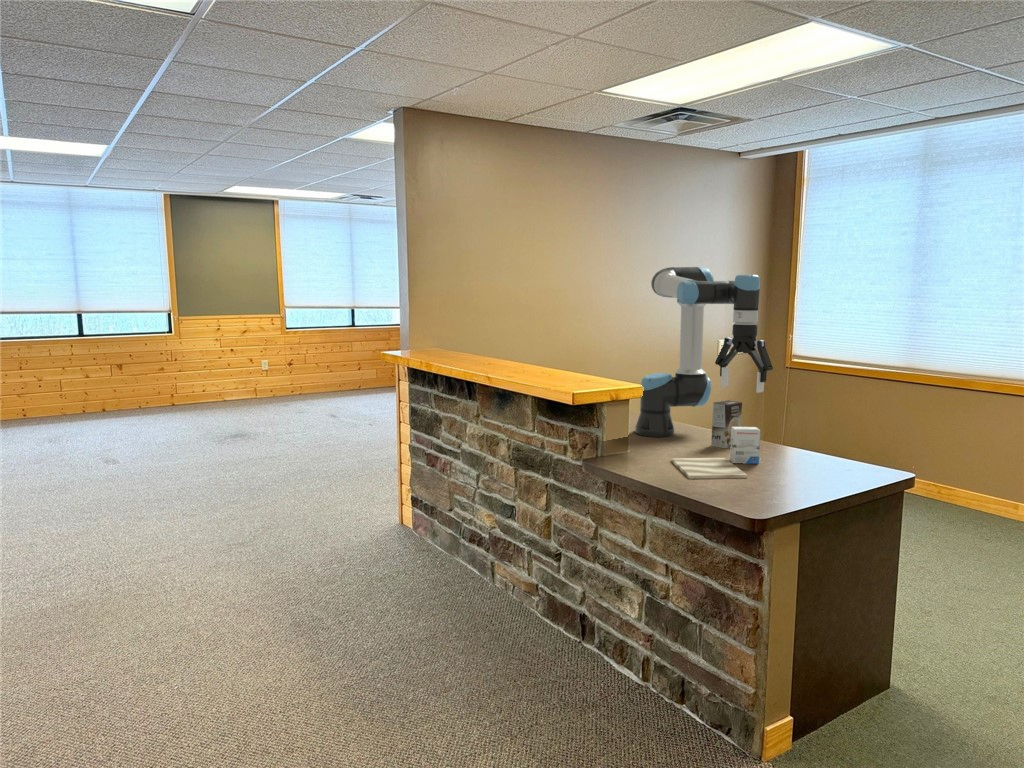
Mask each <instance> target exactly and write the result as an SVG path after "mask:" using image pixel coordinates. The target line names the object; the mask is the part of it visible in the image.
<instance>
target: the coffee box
mask: <svg viewBox="0 0 1024 768" xmlns="http://www.w3.org/2000/svg"><path fill="white" fill-rule="evenodd" d="M742 410H743V402H741V401H735V400H728V399H727V400H721V401H714V402H713V406H712V421H711V422H712V425H711V443H710V444H711V446H712V447H717V448H722V449H728V448H730V443H731V427H742V413H743V411H742Z"/></svg>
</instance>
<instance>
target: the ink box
mask: <svg viewBox="0 0 1024 768" xmlns="http://www.w3.org/2000/svg"><path fill="white" fill-rule="evenodd" d="M729 448H730V451H729V462H731V463H732V464H733V463H743V464H742V465H747V464H749V465H759V464H760V449H761V429H759V428H758V427H757V426H741V427H731V443H730V447H729Z"/></svg>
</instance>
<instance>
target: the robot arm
mask: <svg viewBox="0 0 1024 768" xmlns="http://www.w3.org/2000/svg"><path fill="white" fill-rule="evenodd" d="M760 279H761V278H760V276H759V275H758V274H738V275H736V276H735V278H734V280H714V276H713V273H712V272H711V270H710V269H708V268H707V267H699V266H685V267H684V266H680V267H679V266H677V267H676V266H675V267H674V266H672V267H671V266H670V267H665V268H662V269H660V270H658V271H657V272H656V273H654V275H653V276H652V279H651V289H652V291H653V292H654V294H656V295H657V296H659V297H662V298H674V299H677V300H676V303H677V304H678V305H679V306H680V333H679V337H680V338H679V341H680V342H679V346H680V347H679V368H678V369H677V370H676V371H675V372H674V374H675V376H673V375H672V374H671V373H668V372H658V373H651V374H648V375H645V376H643V377H642V379H641V381H640V382H641V383H640V386H641V385H642V386H643V387H644V391H643V396H642V397H641V396H640V404H639V405H640V407H639V409H640V413H639V416H638V418H637V421H636V424H635V428H634V433H635V434H637V435H640V436H645V437H651V438H652V437H655V438H658V437H659V438H664V437H665V438H666V437H671V436H673V435H675V426H674V422H673V419H672V416H671V409H672V408H673V407H677V408H678V407H693V408H695V407H700V406H701V407H702V406H704V405H706V404H707V403H708V401H709V399H710V398H711V394H712V392H711V391H712V384H711V379H710V377H708V376H707V375H706V374H707V372H706V370H704V369H703V353H704V352H703V351H704V350H703V348H704V347H703V345H704V319H705V318H704V317H705V315H704V314H705V306H706V305H707V304H708V305H733V312H732V313H733V315H732V322H733V325H732V334H731V335H732V337H733V338H732V337H725V338H724V340H723V345H722V347H721V349H720V351H719V353H718V355H717V358H716V360H715V362H714V364H715V365H717V366H719V367H720V369H719V375H720V377H721V381H720V388H726V387H727V388H728V387H729V379H730V378H729V377H730V367H729V366H728V365H729V364H730V363H731V362H732V360H733V359H734V358H735V357H736V355H737V354H739V353H743V354H748V355H749V357H750V358H751V360H752V361H753V362H754V364H755V366H756V367H757V369H758V371H757V372H756V373H757V374H756V376H757V377H756V388H755V389H756V392H755V393H757V394H760V393H764V392H765V391H764V390H765V389H764V388H765V383H766V382H767V373H768V372H769V371H773V370H774V367H773V365H772V362H771V359H770V356H769V353H768V350H767V347H766V340H764V339H761V340H757V336H758V325H757V323H758V322H759V303H760V292H761V290H760V289H761V285H760V282H761V281H760ZM732 345H733V346H732Z"/></svg>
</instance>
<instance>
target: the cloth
mask: <svg viewBox="0 0 1024 768" xmlns="http://www.w3.org/2000/svg"><path fill="white" fill-rule="evenodd" d="M670 459H671V461H670V462H671V463H672V464H674V466H675V467H676V468H678V470H680V471H681V473H683V475H685V476H686V477H687V478H688V479H691V480H692V479H693V480H695V479H697V480H699V479H700V480H701V479H747V478H748V475H747V473H745V472H744V471H743V470H741V469H740V468H739V467H737V466H736V464H735V465H734V464H733V463H732V462H731V461H730V460H728V459H726V458H725V457H690V458H689V457H683V458H681V457H679V458H670Z"/></svg>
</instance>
